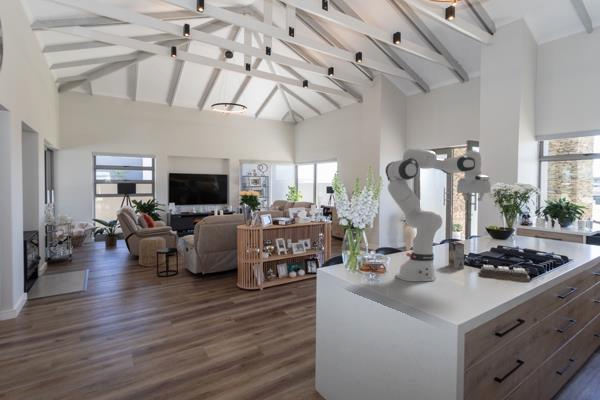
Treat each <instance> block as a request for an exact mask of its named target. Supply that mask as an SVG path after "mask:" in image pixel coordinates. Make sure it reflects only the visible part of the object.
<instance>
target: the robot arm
mask: <svg viewBox="0 0 600 400" xmlns="http://www.w3.org/2000/svg"><path fill="white" fill-rule="evenodd" d="M419 169H423V170H425V169H426V170H428V169H429V170H430V169H433V170H434V169H435V170H439V171H441V172H443V173H444V174H447V175H451V174H457V173H464V178H462V177H461V178H459V179H458V181H457V185H456V186H457V187H456V192H457V193H458V194H462V197H463V200H464V201H468V200H469V197H468V196H467V195H468V194H479V197H478V198H477V201H479V202H480V201H481V202H482V201H483V198H484V196H485V194H489V193H490V192H491V183H490V176H488V175H485V174H482V170H481V169H482V156H481V153H480V151H477V150H466V151H465V153H463V154H461V155H459V156H455V157H446V158H443V159H441V158H438V157H437V154H436V152H435V151H432V150H431V149H425V148H424V149H423V148H409V149H406V150H405V152H404V153H403V155H402V160H396V161H394V160H393V161H391V162H390V163H388V164H387V165H386V167H385V175H386V177H387V180H388V182H389V183H388V186H387V190H388V192H389V194H390V196H391V197H392V199H393V200H394V202H395V203H396V205H398V208H400V209H401V211H402V212H403V214H404V221H405V223H406V225H408V226H409V227H410V228H413V229H417V233H416V236H414V237H413V239H412V252H411V253H409V252H407V253H406V255H405V256H407V257H409V259H408V260H407V261H405V262H404V263H402V265H401V266H400V268H399V272H398V273H397V272H396V273H395V277H396V278H398V279H400V280H402V281H405V282H433V281H435V279H436V278H437V277H436V274H435V270H434V269H435V268H434V256H435V255H434V239H435V236H436V233H437V231H438V230H439V229H441V227H442V225H443V218H442V216H441V215H440V214H438V213H437V212H433V211H429V210H423V209H422V208H421V207H420V204H421V203H420V202H421V201H420V199H419V198H418V196H417V195H416V194H415V192H414V191H413V190H412V188H410V186H409V185H408V183H407V181H408V180H411V179H414V178H415V177H416V176H417V174H418V171H419Z"/></svg>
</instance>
